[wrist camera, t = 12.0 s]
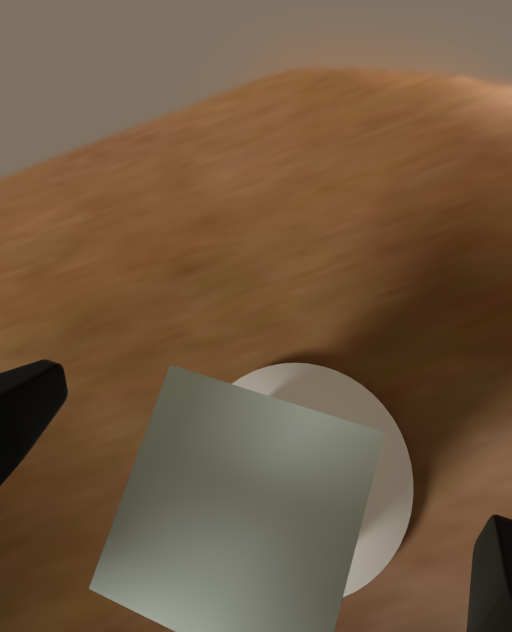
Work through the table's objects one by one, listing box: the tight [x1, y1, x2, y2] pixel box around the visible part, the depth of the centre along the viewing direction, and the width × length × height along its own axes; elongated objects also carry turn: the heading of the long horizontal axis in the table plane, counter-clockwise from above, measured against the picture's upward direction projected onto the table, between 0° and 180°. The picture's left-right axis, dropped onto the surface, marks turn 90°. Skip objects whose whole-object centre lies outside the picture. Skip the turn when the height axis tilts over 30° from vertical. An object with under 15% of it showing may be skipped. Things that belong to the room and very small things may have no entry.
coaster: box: [232, 363, 413, 597], centre depth 20 cm, size 10×10×1 cm
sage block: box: [89, 365, 385, 632], centre depth 15 cm, size 5×5×11 cm
